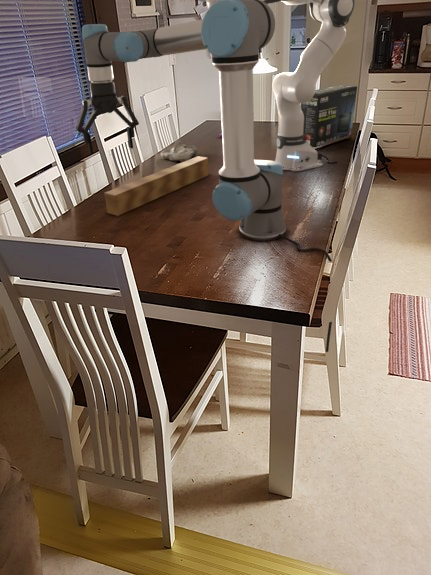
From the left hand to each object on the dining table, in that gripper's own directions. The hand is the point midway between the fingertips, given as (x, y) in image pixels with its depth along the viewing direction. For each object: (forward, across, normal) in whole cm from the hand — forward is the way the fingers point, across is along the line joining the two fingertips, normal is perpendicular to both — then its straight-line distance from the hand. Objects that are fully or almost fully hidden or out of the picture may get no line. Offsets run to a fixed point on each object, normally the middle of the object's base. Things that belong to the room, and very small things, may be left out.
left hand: (111, 150), depth 153 cm
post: (+24, -22, -16) cm, 37 cm away
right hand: (-21, -53, -25) cm, 62 cm away
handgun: (+24, -86, -80) cm, 120 cm away
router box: (+23, -125, -44) cm, 134 cm away
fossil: (+24, -47, -60) cm, 80 cm away
